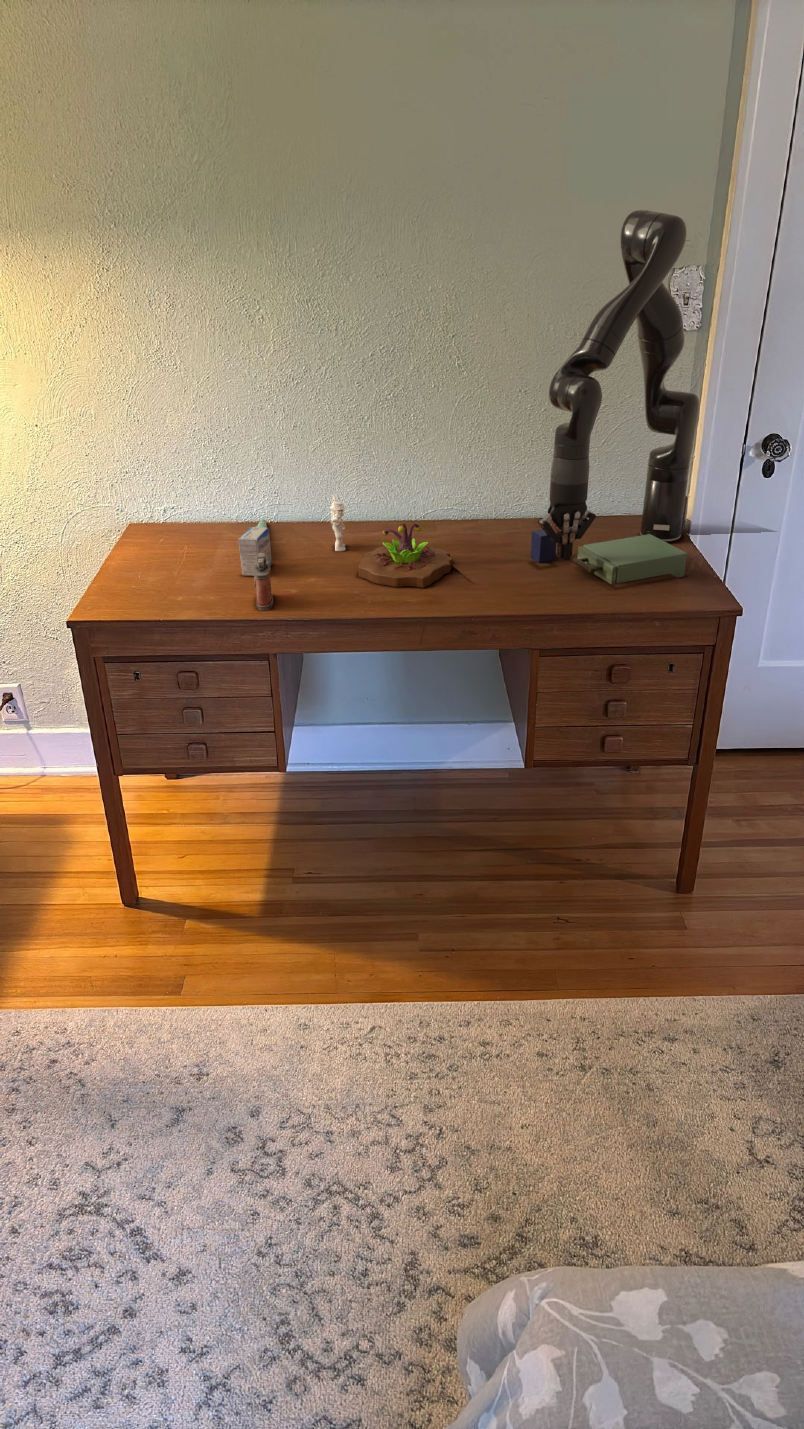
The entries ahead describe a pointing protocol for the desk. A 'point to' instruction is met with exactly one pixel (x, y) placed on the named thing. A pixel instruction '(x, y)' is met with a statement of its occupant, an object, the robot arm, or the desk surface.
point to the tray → (595, 565)
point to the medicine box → (254, 548)
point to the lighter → (263, 583)
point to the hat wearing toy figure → (338, 523)
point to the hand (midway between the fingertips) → (564, 559)
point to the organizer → (641, 557)
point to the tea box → (542, 547)
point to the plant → (405, 562)
